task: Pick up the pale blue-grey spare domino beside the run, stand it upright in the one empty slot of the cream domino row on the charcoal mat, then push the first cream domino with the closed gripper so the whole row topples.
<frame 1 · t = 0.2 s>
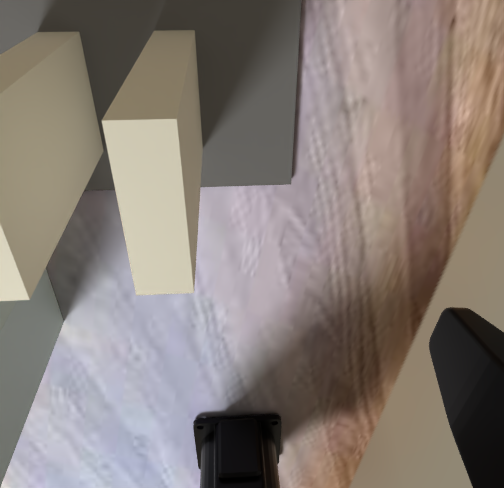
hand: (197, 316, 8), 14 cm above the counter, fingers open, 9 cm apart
domino 1: (180, 94, 19), resting on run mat
spare domino: (38, 290, 26), on the counter
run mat: (3, 94, 19), on the counter
domino 2: (73, 96, 19), resting on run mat
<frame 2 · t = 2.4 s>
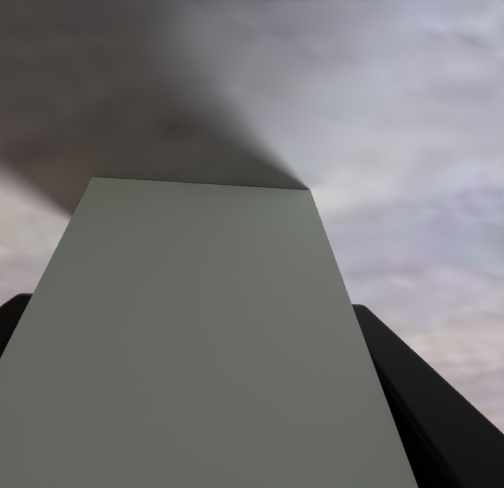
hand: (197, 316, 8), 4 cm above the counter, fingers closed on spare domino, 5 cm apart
spare domino: (202, 213, 11), on the counter, touching gripper
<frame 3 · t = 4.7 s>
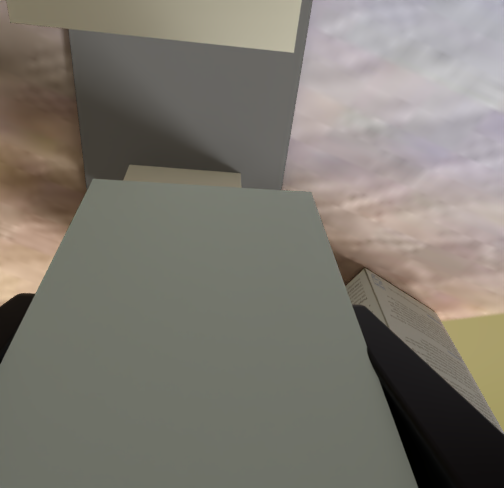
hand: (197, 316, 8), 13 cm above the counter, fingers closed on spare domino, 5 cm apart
domino 4: (185, 184, 21), resting on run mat
light bulb box: (341, 339, 28), on the counter
spare domino: (203, 215, 11), point 10 cm above the counter, touching gripper
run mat: (189, 44, 18), on the counter
when the fingers open (5 cm above the counter, at t = 7.3 s): spare domino stays where it is, resting on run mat.
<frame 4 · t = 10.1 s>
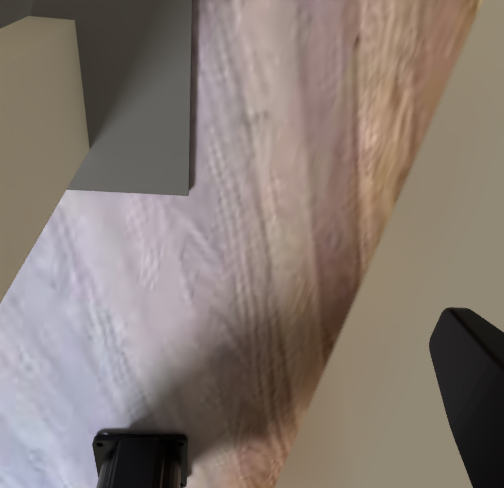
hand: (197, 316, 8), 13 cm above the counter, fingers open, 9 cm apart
domino 1: (61, 88, 18), resting on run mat
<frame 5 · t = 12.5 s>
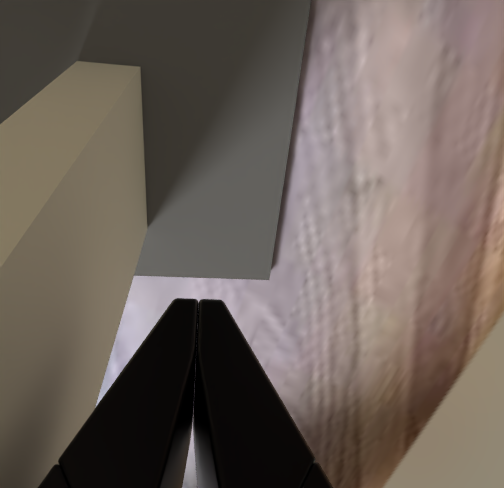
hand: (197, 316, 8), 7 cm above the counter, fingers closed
domino 1: (116, 154, 13), resting on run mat, touching gripper
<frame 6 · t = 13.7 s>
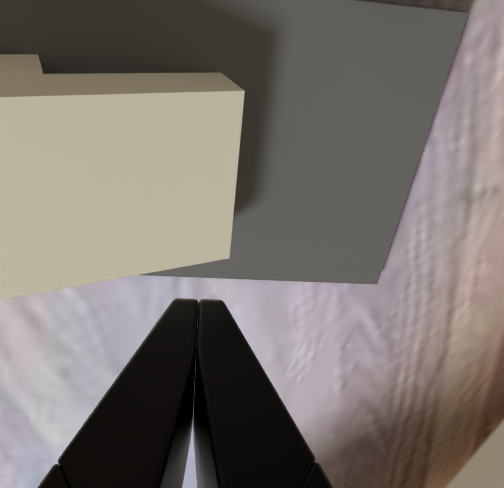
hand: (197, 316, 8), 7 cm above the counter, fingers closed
domino 1: (225, 171, 13), point 1 cm above the counter, tilted 70°, touching domino 2, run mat
domino 2: (55, 158, 12), point 1 cm above the counter, tilted 69°, touching domino 1, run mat, spare domino
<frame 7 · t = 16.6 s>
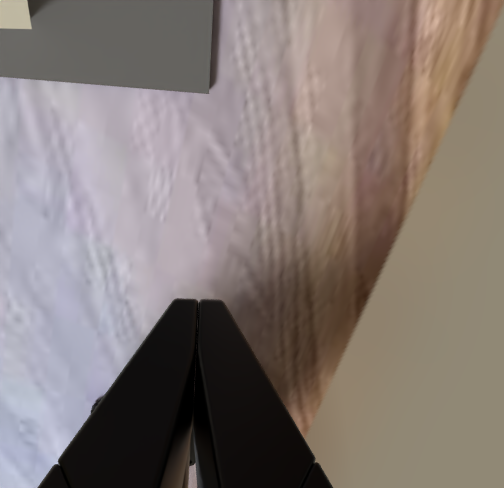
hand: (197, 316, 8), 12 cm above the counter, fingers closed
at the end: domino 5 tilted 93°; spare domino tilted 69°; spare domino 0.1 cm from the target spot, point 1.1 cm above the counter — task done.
